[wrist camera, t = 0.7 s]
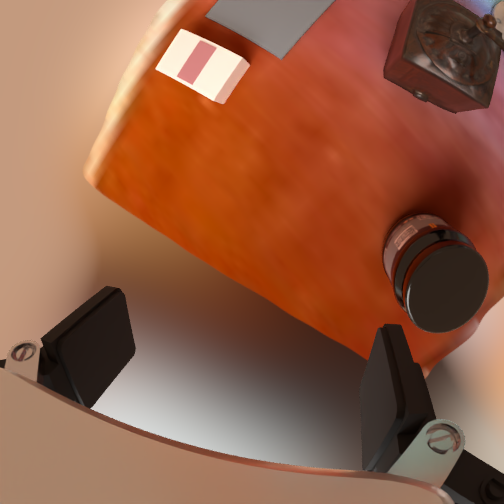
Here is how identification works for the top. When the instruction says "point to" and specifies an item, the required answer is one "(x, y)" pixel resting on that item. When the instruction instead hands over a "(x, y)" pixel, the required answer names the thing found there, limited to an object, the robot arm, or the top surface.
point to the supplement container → (434, 272)
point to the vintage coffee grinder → (445, 55)
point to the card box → (203, 66)
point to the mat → (269, 20)
